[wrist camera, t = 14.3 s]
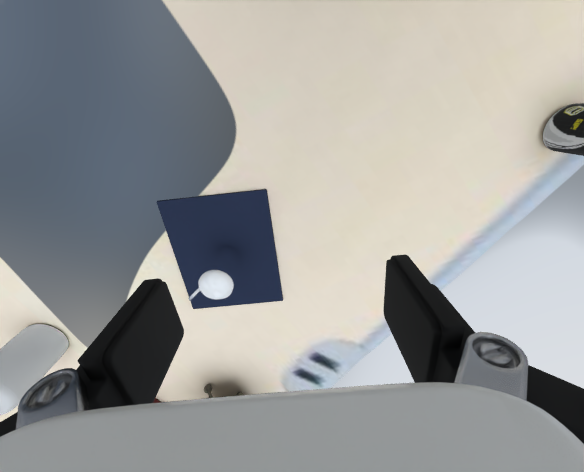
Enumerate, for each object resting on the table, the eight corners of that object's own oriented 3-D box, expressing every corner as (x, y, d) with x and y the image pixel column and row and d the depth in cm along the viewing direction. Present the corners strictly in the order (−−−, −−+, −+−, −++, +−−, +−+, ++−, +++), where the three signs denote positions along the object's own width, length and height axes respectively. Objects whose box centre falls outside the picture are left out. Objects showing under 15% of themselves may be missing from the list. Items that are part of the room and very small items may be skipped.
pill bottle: (26, 348, 51) (-68, 435, 37) (22, 318, 48) (-83, 401, 34) (71, 357, 52) (-5, 444, 39) (70, 327, 49) (-13, 412, 35)
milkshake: (204, 246, 42) (181, 284, 32) (237, 239, 41) (223, 276, 32) (214, 270, 43) (195, 312, 34) (246, 263, 43) (235, 305, 34)
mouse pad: (157, 200, 39) (156, 201, 38) (266, 189, 38) (266, 189, 38) (193, 307, 47) (193, 309, 47) (282, 299, 47) (282, 300, 46)
